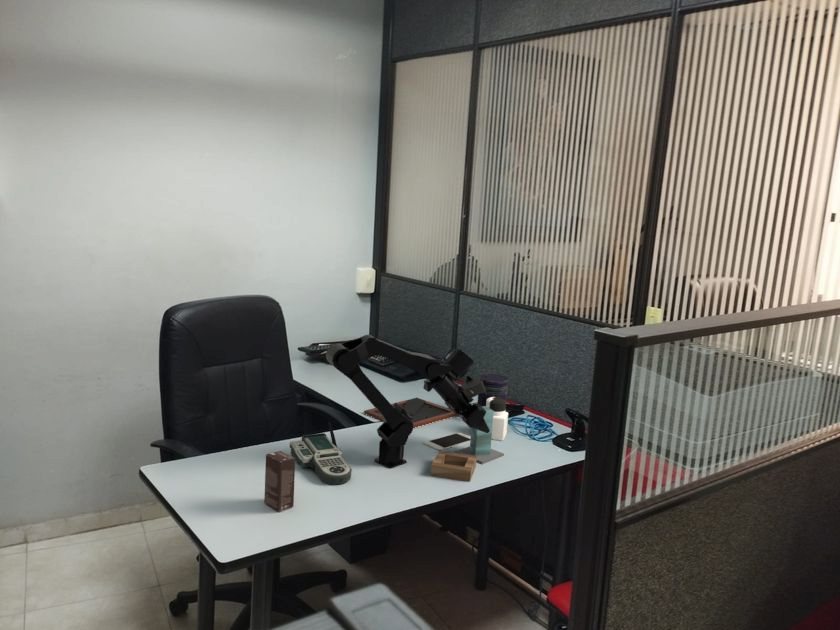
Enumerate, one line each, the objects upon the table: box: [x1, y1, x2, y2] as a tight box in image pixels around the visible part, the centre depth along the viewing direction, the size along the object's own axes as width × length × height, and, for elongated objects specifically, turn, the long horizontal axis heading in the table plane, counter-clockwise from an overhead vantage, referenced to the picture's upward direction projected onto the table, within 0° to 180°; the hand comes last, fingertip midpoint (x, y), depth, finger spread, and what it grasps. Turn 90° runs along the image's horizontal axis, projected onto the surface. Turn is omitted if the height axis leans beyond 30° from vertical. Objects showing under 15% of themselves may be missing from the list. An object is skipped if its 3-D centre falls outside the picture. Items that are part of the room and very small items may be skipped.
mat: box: [454, 445, 505, 465], centre depth 195 cm, size 10×10×1 cm
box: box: [263, 450, 296, 513], centre depth 156 cm, size 6×4×12 cm
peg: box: [469, 406, 494, 456], centre depth 194 cm, size 4×4×13 cm
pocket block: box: [430, 450, 477, 482], centre depth 182 cm, size 10×10×3 cm
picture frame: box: [363, 397, 459, 429], centre depth 227 cm, size 20×2×25 cm
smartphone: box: [423, 431, 471, 451], centre depth 204 cm, size 7×16×1 cm, turn 133°
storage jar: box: [476, 373, 509, 412], centre depth 223 cm, size 10×10×15 cm
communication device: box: [289, 421, 353, 486], centre depth 179 cm, size 12×24×9 cm, turn 27°
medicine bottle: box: [486, 397, 509, 442], centre depth 210 cm, size 7×7×12 cm
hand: (482, 426), depth 193 cm, fingers open, 9 cm apart
